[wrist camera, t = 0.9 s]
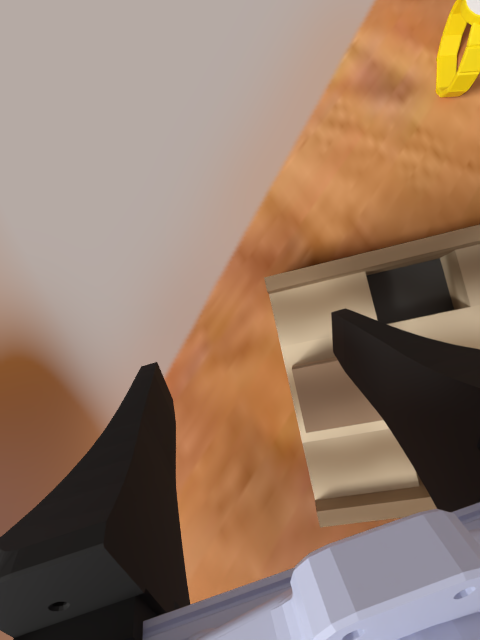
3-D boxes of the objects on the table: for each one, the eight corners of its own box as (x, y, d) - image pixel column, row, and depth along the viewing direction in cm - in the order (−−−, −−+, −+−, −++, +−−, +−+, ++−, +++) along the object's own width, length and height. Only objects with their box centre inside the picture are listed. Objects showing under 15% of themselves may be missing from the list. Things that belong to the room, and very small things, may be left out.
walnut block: (376, 408, 22) (388, 419, 19) (304, 420, 23) (306, 432, 20) (362, 351, 23) (372, 353, 20) (292, 365, 23) (291, 369, 20)
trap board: (609, 457, 22) (678, 484, 18) (316, 497, 25) (320, 527, 21) (536, 221, 23) (586, 198, 19) (268, 286, 26) (264, 277, 22)
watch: (425, 45, 26) (464, -48, 20) (463, 42, 25) (515, -55, 19) (425, 113, 25) (466, 38, 19) (464, 111, 24) (518, 33, 19)
